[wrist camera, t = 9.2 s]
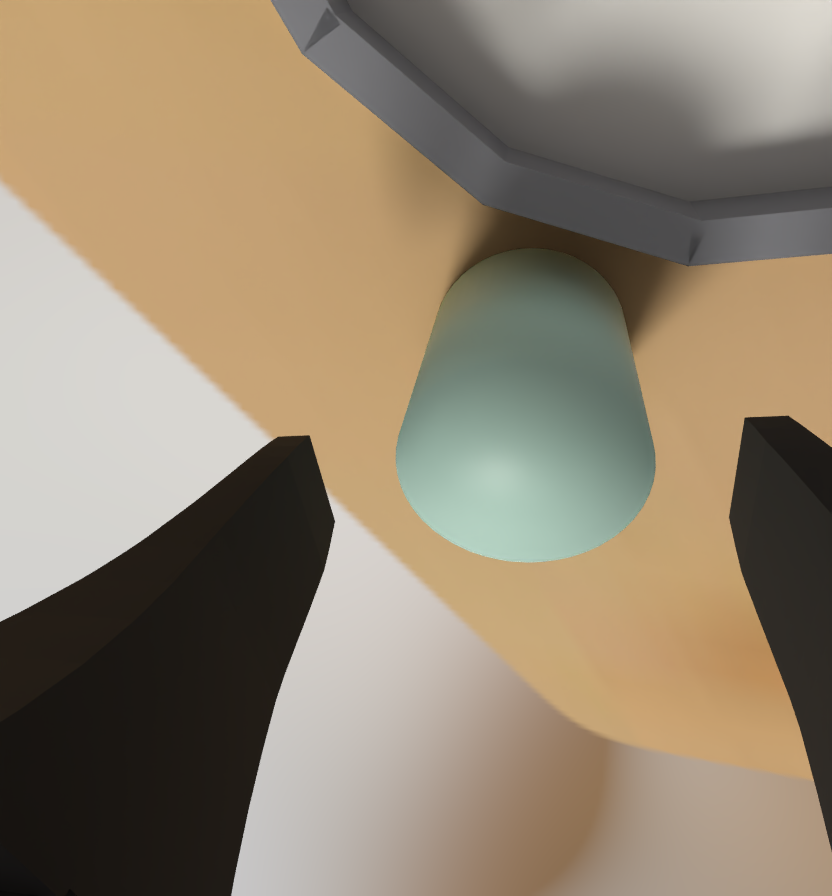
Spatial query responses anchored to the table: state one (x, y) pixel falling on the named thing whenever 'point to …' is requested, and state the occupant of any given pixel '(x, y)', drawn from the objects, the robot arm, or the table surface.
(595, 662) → the table surface
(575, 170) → the groove tray
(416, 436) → the mint green cylinder
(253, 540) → the robot arm
